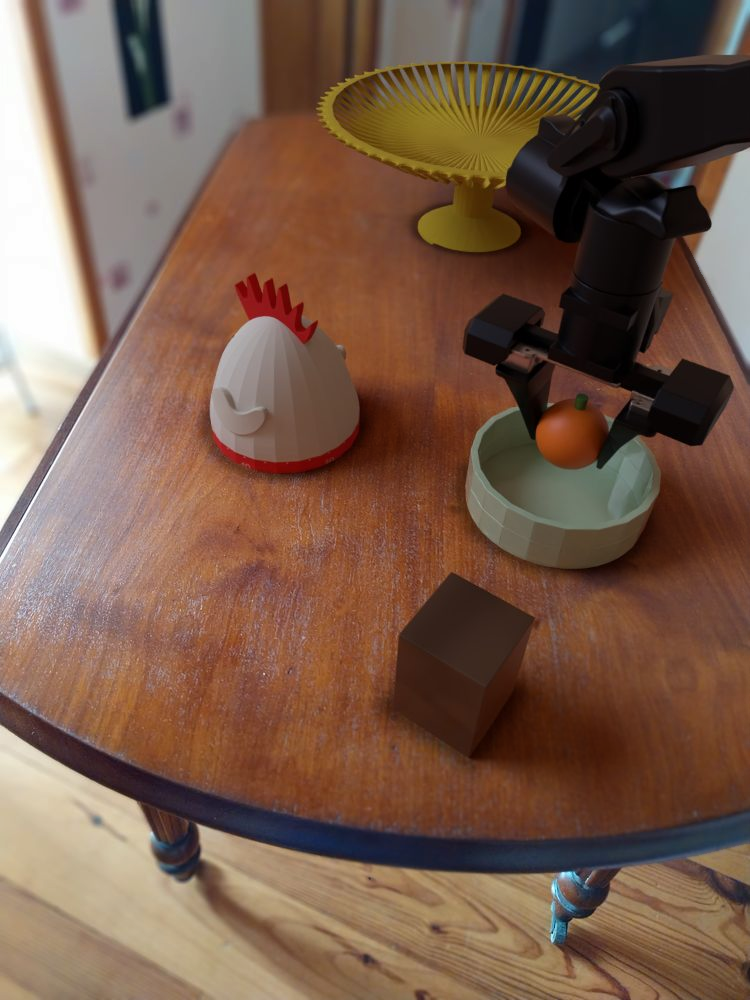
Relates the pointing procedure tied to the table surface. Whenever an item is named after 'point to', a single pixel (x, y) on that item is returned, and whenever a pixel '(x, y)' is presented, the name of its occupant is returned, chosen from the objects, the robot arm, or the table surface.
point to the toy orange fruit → (572, 433)
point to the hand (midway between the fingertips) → (567, 451)
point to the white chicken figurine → (282, 388)
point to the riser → (459, 662)
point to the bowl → (557, 497)
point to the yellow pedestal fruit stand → (451, 140)
